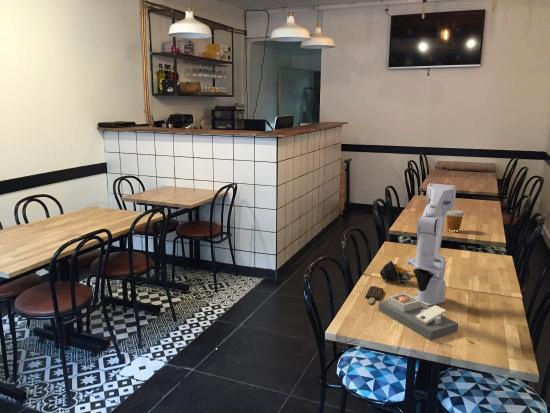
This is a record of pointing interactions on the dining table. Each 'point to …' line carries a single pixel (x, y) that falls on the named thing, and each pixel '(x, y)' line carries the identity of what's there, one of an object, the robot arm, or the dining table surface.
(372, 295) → the ice cream bar
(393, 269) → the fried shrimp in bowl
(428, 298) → the robot arm
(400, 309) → the grey board with tray
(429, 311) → the rocker switch
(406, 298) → the button
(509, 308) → the dining table surface
